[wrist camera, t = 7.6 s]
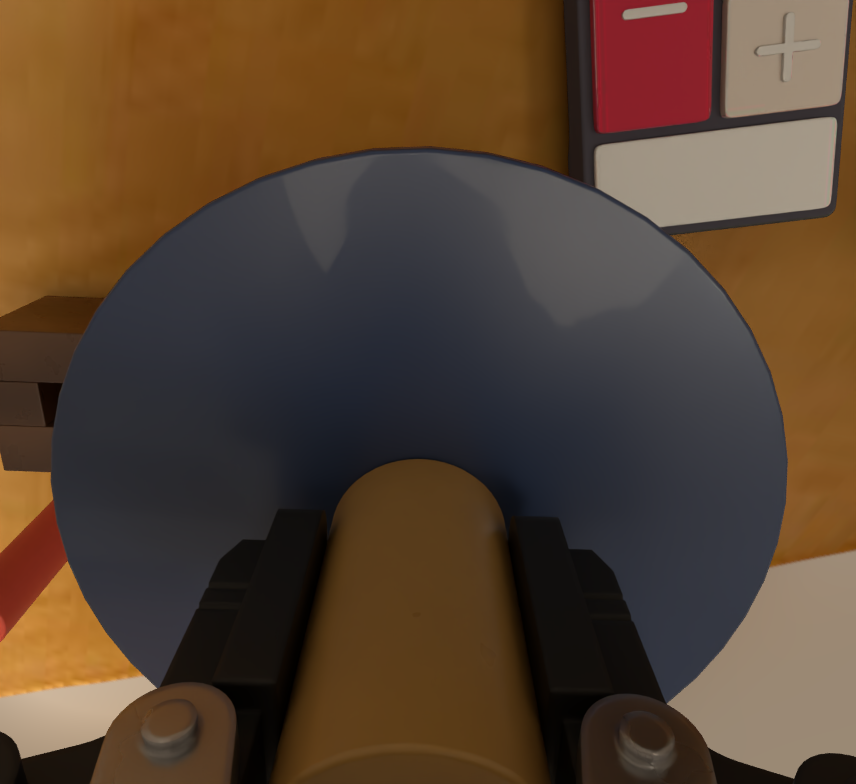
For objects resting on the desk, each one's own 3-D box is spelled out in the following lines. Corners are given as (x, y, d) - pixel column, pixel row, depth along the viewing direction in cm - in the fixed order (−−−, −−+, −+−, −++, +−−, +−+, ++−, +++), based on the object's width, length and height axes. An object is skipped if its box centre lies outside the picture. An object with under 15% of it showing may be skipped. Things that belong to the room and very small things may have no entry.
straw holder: (45, 295, 35) (-29, 329, 29) (357, 308, 35) (344, 344, 29) (67, 418, 37) (3, 470, 32) (357, 429, 38) (345, 483, 32)
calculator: (884, -214, 24) (847, 218, 29) (819, -160, 28) (795, 210, 33) (574, -169, 24) (589, 247, 29) (554, -122, 28) (570, 236, 33)
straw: (191, 350, 36) (-64, 599, 17) (221, 351, 36) (-2, 601, 17) (194, 378, 36) (-50, 648, 18) (223, 379, 36) (10, 649, 18)
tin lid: (19, 130, 10) (-606, 156, 4) (837, 157, 10) (1440, 223, 4) (133, 728, 15) (-73, 1156, 9) (689, 743, 15) (867, 1176, 9)
